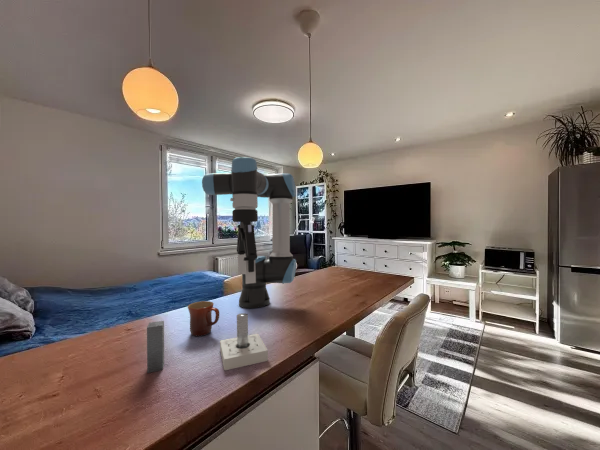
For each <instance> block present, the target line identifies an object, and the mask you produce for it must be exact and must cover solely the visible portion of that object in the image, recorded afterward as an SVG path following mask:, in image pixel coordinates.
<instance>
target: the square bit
mask: <svg viewBox="0 0 600 450" xmlns="http://www.w3.org/2000/svg"><path fill="white" fill-rule="evenodd" d="M146 359H147V361H146V364H147V365H146V366H147V367H146V368H147V369H146V370H147V372H146V373H147V374H150V373H153V372H154V373H155V372H159V371H163V369H164V366H165V321H164V320H161V321H152V322H149V323H148V325H147V327H146Z"/></svg>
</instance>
